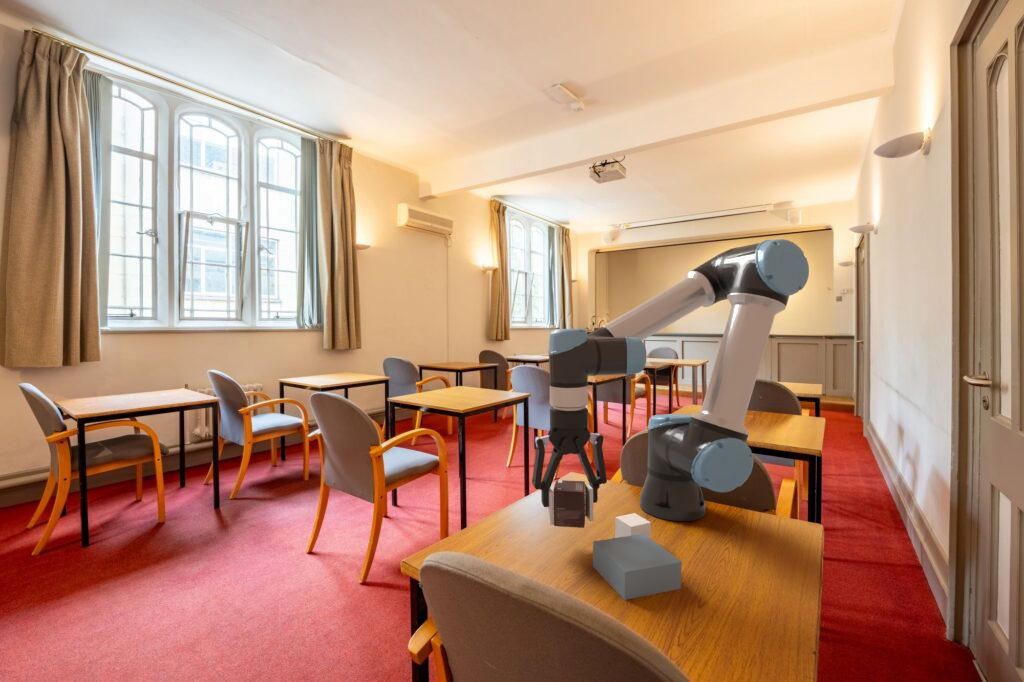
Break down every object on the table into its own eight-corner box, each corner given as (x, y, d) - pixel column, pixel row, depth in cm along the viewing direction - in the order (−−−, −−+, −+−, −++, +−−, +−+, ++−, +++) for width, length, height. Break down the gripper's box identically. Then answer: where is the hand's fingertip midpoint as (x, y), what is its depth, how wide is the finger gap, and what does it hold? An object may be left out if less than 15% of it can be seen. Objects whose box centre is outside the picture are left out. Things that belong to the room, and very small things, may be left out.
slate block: (643, 558, 90) (644, 533, 90) (680, 590, 80) (681, 561, 80) (592, 567, 87) (593, 541, 87) (624, 601, 77) (624, 572, 76)
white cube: (634, 536, 99) (634, 512, 99) (650, 546, 95) (650, 522, 95) (615, 540, 97) (615, 517, 97) (630, 551, 93) (631, 526, 93)
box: (584, 529, 90) (584, 491, 90) (553, 527, 91) (552, 490, 91) (585, 515, 96) (585, 480, 96) (556, 514, 97) (555, 479, 97)
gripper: (610, 401, 98) (610, 508, 99) (514, 405, 94) (516, 516, 95) (624, 407, 90) (625, 523, 92) (522, 413, 87) (523, 533, 88)
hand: (569, 519), depth 94 cm, fingers closed on box, 7 cm apart
